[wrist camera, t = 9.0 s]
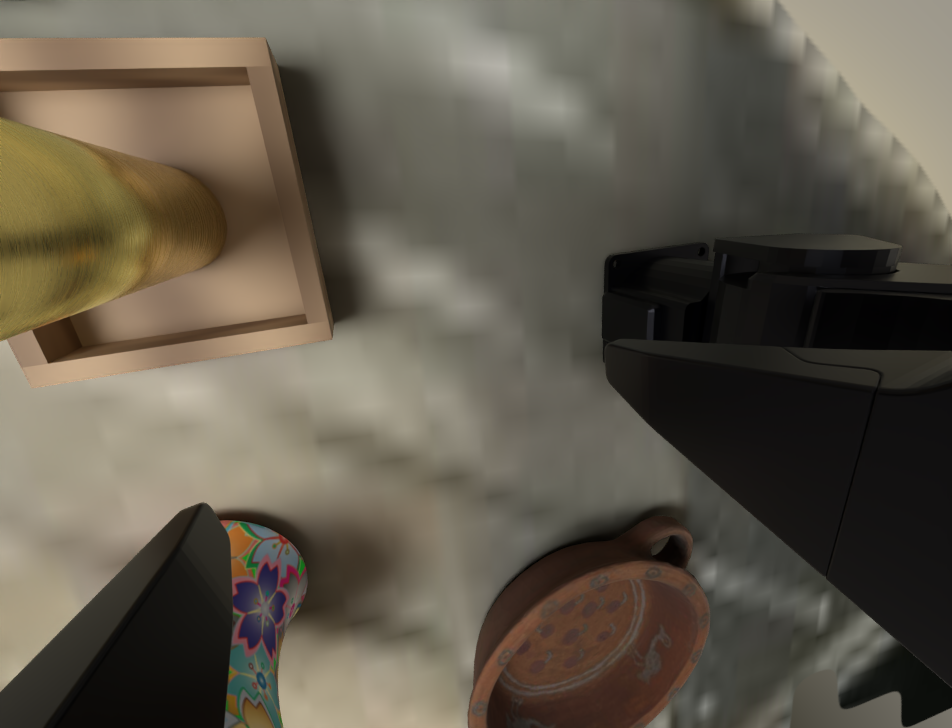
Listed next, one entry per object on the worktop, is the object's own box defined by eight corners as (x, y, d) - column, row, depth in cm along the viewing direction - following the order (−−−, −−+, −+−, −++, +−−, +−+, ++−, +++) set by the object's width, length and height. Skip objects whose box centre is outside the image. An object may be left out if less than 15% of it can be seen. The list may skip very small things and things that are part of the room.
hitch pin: (222, 143, 16) (-368, -213, 3) (258, 278, 18) (9, 460, 5) (62, 151, 15) (-2391, -417, 2) (118, 295, 17) (-785, 612, 3)
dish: (384, 701, 30) (391, 789, 25) (571, 452, 27) (616, 499, 23) (557, 733, 37) (587, 806, 32) (718, 538, 34) (774, 587, 30)
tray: (277, 64, 17) (265, 37, 14) (333, 323, 20) (332, 339, 18) (-59, 70, 14) (-147, 38, 12) (76, 363, 18) (31, 388, 15)
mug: (182, 474, 21) (40, 702, 11) (349, 541, 24) (352, 753, 15) (55, 654, 22) (-176, 1006, 12) (234, 691, 25) (167, 980, 16)
